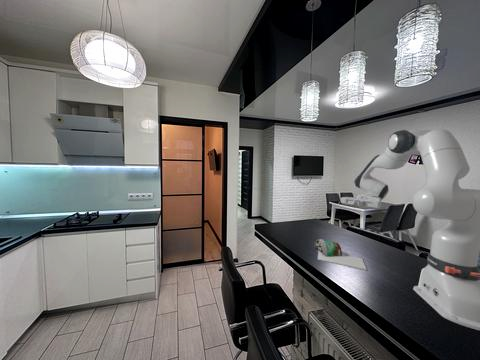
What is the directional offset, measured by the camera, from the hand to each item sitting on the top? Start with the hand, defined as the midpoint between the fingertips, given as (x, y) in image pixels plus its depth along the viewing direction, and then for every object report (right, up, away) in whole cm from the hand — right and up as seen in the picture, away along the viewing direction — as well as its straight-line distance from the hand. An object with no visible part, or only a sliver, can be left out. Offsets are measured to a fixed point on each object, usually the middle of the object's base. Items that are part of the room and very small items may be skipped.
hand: (355, 203), depth 107 cm
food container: (-13, -22, -6) cm, 26 cm away
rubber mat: (-16, -26, -14) cm, 33 cm away
